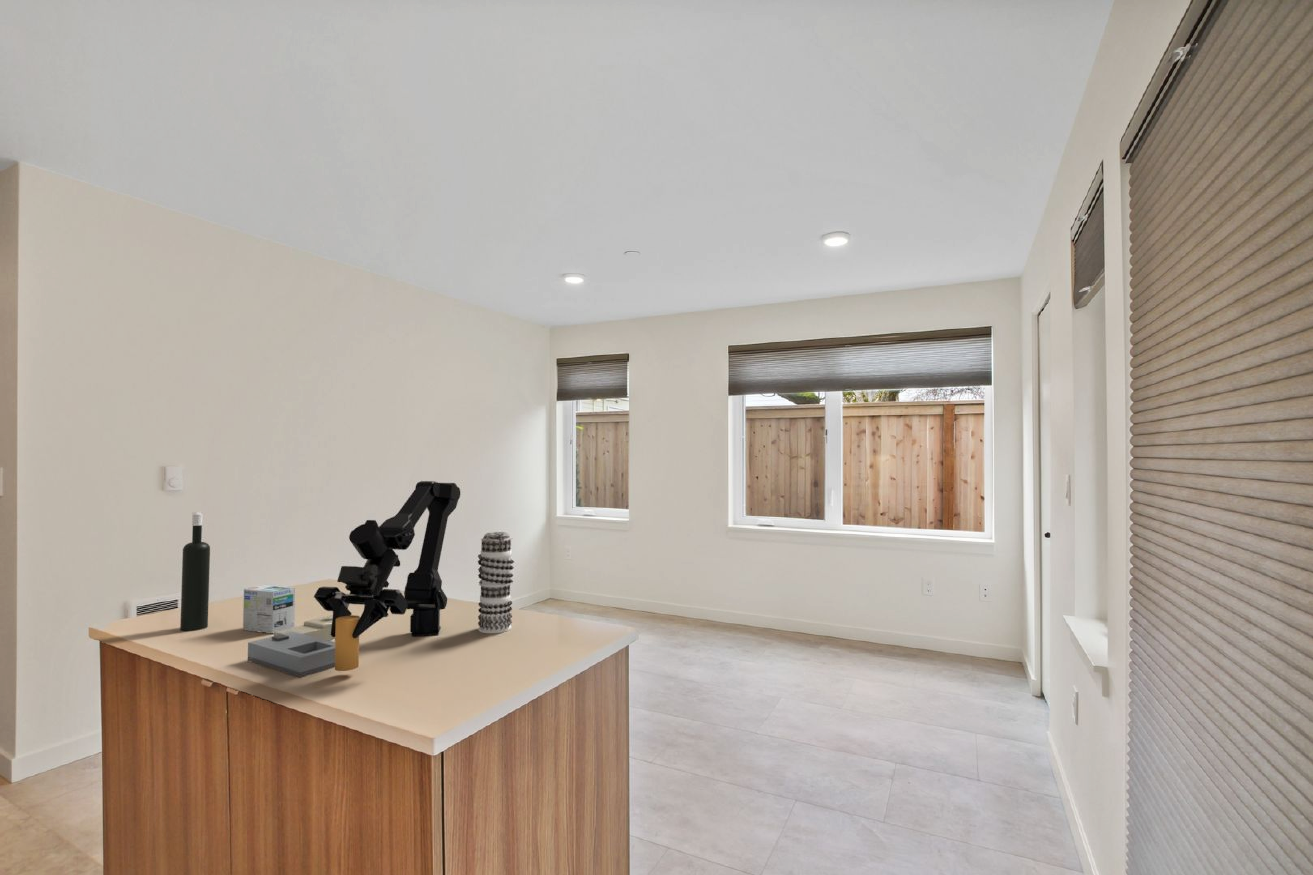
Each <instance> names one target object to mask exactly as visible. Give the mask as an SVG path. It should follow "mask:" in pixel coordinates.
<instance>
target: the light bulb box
mask: <svg viewBox="0 0 1313 875" xmlns="http://www.w3.org/2000/svg"><path fill="white" fill-rule="evenodd" d="M242 612H243V613H242V615H243V617H242V618H243V619H242V631H247V632H255V631H260V632H259V633H262V632H266V633H265V634H270V633H273V634H274V632H276V631H280V630H285V629H289V628H292V627H296V624H295V622H296V620H295V619H296V617H295V616H296V615H295V614H296V613H295V612H296V587H295V586H285V585H284V586H283V585H273V584H271V585H270V584H262V585H257V586H253V587H246V588H243V610H242Z"/></svg>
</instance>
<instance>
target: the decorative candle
mask: <svg viewBox="0 0 1313 875" xmlns="http://www.w3.org/2000/svg"><path fill="white" fill-rule="evenodd" d="M480 540H481V549H480V554H478V555H477V557H478V559H479V560H477V563H478V566H479V565H480V567H479V568H478V569H477V570H478V573H479V574H477V576H478V579H480V580H479V582H478V585H479V586H480V595H479V602H478V603H477V604H478V607H480V608H478V610H477V611H478V613H479V615H478V616H477V617H478V620H479V621H478V623H477V624H478V626H479V627H478V628H477V629H478V632H480V633H483V634H502V633H506V632H508V631H510V630H512V625H511V624H512V623H513V621H512V617H513V615H512V613H511V612H512V610H513V607H512V606H511V605H512V604H513V602H512V595H511V585H512V584H513V582H514V580H513V579H512V578H513V576H514V574H513V573H512V572H511V571H512V570H513V569H514V566H513V564H514V563H515V561H514V560H513V559H511V556H512V554H513V553H512V552H513V551H512V549H511V545H512V540H513V538H512V537H511V536H510V535H509V534H508V533H507V532H504V531H499V532H498V531H492V532H491V531H490V532H486V533H485V534H484V535H483V538H480ZM511 564H512V565H511Z"/></svg>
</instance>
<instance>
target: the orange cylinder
mask: <svg viewBox="0 0 1313 875" xmlns="http://www.w3.org/2000/svg"><path fill="white" fill-rule="evenodd" d="M359 616H360V615H356V616H343V617H339V618H336V629H335V639H334V642H335V667H334V671H337V672H346V671H347V672H348V671H351V670H352V671H353V670H355V669H357V668H359V664H360V663H359V662H360V660H359V658H360V657H359V656H360V635H359V636H358V637H357V638H353V637H352V634H353V632H354V629H355V627H356V625H357V623H358V621H359V619H360V617H361V616H360V617H359Z"/></svg>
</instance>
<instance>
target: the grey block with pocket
mask: <svg viewBox="0 0 1313 875" xmlns="http://www.w3.org/2000/svg"><path fill="white" fill-rule="evenodd" d="M247 661H248V662H250V661H251V662H250V663H253V664H257V665H260V666H263V667H266V668H269V669H272V670H276V671H278V670H279V671H278V672H282V673H285V674H288V675H291V674H292V675H291V676H294V677H298V678H303V677H306V676H309V674H310V675H314V674H316V673H319V672H323V670H324V671H326V670H329V669H335V641H331V640H324V639H321V638H317V637H313V636H309V635H305V634H301V633H297V632H290V633H286V634H281V635H277V636H274V635H273V636H269V637H265V638H261V639H257V640H253V641H248V642H247Z"/></svg>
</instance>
